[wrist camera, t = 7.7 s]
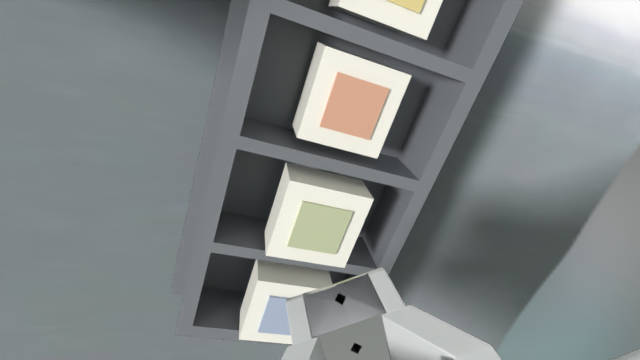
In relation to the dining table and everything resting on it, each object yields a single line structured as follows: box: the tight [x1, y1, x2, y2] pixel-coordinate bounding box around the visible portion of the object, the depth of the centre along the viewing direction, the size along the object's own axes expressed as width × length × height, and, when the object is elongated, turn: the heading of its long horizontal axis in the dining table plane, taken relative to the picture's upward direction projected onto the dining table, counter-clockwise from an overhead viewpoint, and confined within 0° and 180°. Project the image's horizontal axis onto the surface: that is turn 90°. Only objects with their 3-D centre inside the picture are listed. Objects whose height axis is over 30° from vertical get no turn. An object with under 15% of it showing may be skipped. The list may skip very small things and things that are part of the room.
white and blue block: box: [239, 259, 332, 344], centre depth 19 cm, size 4×4×2 cm
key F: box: [292, 41, 412, 159], centre depth 16 cm, size 4×4×2 cm
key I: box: [265, 162, 374, 268], centre depth 17 cm, size 4×4×2 cm
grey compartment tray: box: [170, 0, 524, 346], centre depth 18 cm, size 23×12×5 cm, turn 162°
